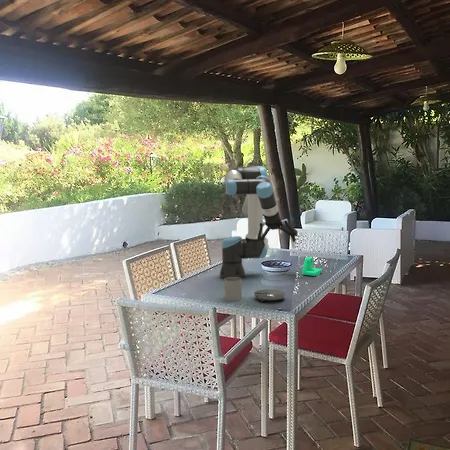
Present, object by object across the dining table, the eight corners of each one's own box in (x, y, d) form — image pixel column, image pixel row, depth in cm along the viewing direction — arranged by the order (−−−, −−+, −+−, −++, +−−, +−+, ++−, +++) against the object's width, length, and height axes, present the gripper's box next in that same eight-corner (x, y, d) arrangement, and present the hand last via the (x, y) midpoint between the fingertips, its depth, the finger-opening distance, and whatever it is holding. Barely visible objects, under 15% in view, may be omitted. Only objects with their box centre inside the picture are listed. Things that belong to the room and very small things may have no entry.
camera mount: (314, 277, 285) (314, 260, 284) (302, 276, 290) (302, 258, 288) (322, 273, 295) (322, 256, 294) (310, 271, 299) (310, 255, 298)
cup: (227, 301, 241) (227, 281, 240) (222, 297, 249) (222, 277, 247) (243, 299, 243) (243, 280, 242) (238, 295, 251) (238, 276, 250)
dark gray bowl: (251, 302, 238) (251, 296, 238) (257, 294, 253) (257, 288, 252) (282, 304, 234) (282, 298, 234) (286, 295, 249) (286, 289, 248)
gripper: (244, 219, 239) (255, 254, 249) (295, 214, 229) (304, 250, 240) (248, 211, 244) (258, 245, 255) (297, 205, 235) (306, 241, 246)
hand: (280, 247), depth 248 cm, fingers open, 13 cm apart
